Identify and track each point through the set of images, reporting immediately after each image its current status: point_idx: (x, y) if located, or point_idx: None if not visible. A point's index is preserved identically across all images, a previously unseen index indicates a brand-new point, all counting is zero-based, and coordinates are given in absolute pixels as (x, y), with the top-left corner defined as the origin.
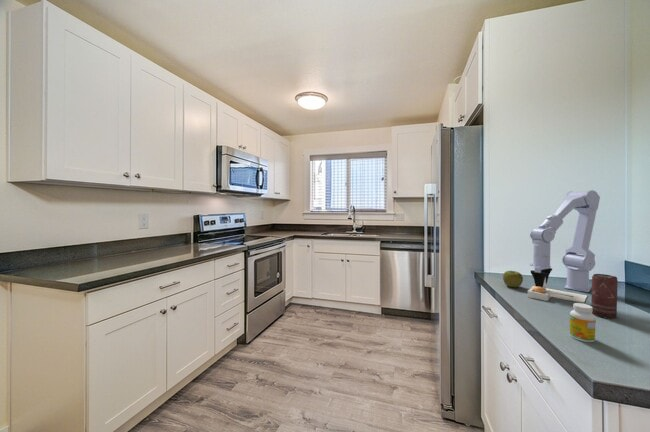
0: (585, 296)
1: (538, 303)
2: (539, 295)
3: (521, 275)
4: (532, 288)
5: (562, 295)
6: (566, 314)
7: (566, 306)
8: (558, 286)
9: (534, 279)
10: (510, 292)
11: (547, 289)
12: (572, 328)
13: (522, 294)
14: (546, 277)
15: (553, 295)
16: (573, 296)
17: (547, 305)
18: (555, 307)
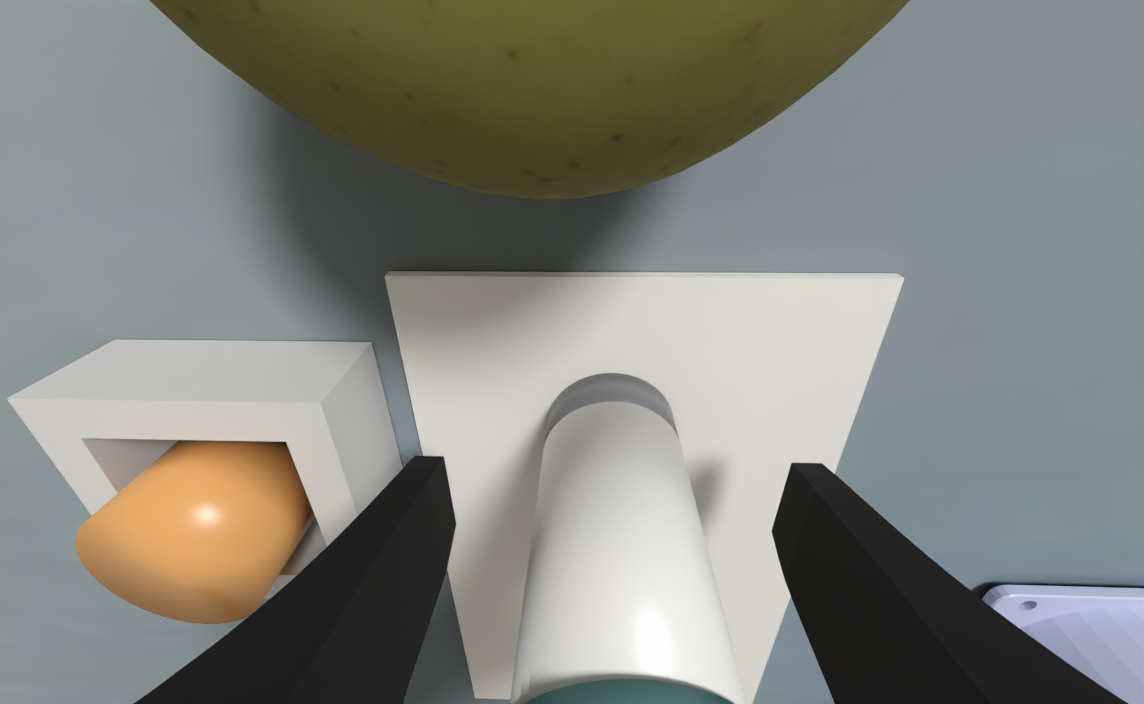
0: None
1: (18, 473)
2: None
3: (518, 180)
4: (278, 422)
5: None
6: (16, 637)
7: (233, 627)
8: (1094, 528)
9: (274, 602)
10: (25, 18)
11: (762, 472)
12: None
13: (164, 248)
14: (842, 696)
15: (490, 546)
16: None
17: (66, 535)
18: (94, 581)
